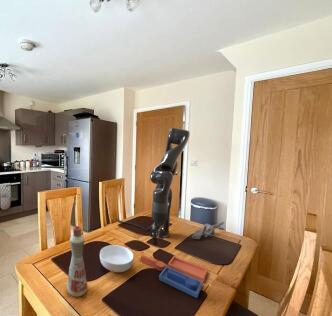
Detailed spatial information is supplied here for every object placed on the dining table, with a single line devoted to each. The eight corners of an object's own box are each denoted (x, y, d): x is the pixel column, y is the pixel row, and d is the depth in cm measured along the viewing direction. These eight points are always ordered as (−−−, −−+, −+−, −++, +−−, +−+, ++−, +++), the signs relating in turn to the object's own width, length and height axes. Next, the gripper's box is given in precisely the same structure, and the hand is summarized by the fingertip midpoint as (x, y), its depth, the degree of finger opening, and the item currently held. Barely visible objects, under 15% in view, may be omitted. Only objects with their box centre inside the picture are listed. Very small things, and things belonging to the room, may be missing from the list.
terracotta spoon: (139, 262, 103) (139, 257, 103) (143, 258, 107) (143, 253, 107) (162, 272, 95) (163, 267, 95) (166, 268, 99) (166, 262, 99)
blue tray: (158, 279, 90) (158, 275, 90) (165, 270, 97) (165, 266, 97) (197, 298, 80) (197, 293, 80) (202, 286, 87) (202, 281, 87)
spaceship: (231, 222, 139) (220, 215, 145) (200, 237, 123) (189, 228, 129) (226, 230, 143) (216, 222, 149) (195, 246, 127) (185, 236, 133)
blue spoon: (165, 278, 91) (166, 272, 90) (169, 273, 94) (169, 268, 94) (195, 292, 83) (195, 286, 82) (197, 286, 86) (198, 280, 86)
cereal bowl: (110, 282, 88) (111, 267, 87) (93, 262, 102) (94, 249, 102) (140, 272, 95) (140, 258, 95) (120, 254, 110) (120, 242, 109)
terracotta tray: (167, 267, 100) (167, 263, 99) (173, 259, 107) (173, 255, 106) (203, 282, 89) (203, 278, 89) (207, 272, 96) (207, 268, 96)
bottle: (78, 279, 89) (80, 220, 87) (91, 291, 82) (93, 227, 80) (62, 288, 83) (63, 225, 81) (74, 301, 77) (76, 233, 74)
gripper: (157, 205, 105) (156, 234, 106) (146, 212, 94) (144, 244, 95) (172, 208, 100) (170, 238, 102) (161, 216, 89) (159, 250, 91)
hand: (157, 241), depth 98 cm, fingers open, 8 cm apart
